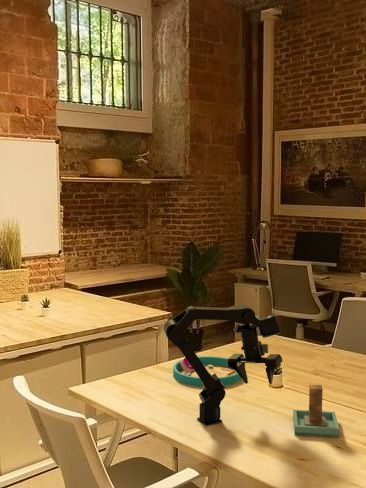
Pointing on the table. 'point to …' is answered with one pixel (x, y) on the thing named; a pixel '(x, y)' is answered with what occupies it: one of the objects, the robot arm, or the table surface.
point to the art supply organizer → (208, 360)
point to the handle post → (315, 407)
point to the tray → (315, 431)
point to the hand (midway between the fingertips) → (258, 383)
